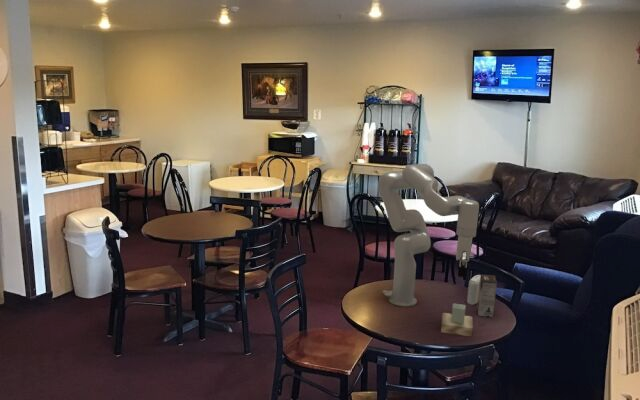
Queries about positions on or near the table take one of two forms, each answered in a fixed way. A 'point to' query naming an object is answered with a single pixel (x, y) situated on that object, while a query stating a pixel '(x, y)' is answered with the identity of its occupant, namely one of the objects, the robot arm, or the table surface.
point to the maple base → (457, 325)
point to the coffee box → (486, 295)
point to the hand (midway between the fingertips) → (461, 272)
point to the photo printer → (473, 290)
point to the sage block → (458, 313)
